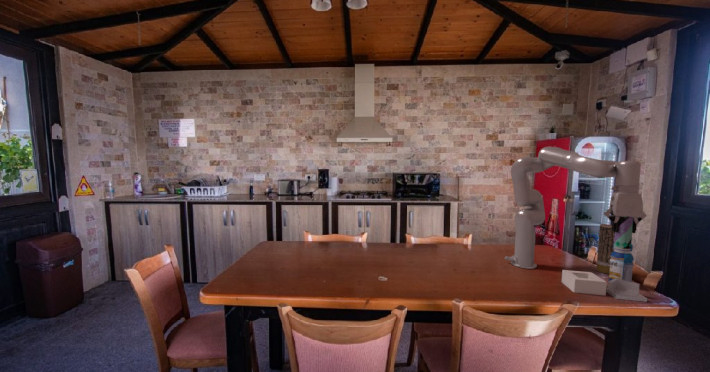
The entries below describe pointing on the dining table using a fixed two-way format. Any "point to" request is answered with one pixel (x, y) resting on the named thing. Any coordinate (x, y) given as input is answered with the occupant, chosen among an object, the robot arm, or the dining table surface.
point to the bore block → (584, 282)
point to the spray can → (624, 234)
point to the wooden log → (605, 248)
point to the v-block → (625, 290)
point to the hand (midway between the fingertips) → (623, 231)
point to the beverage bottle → (621, 264)
